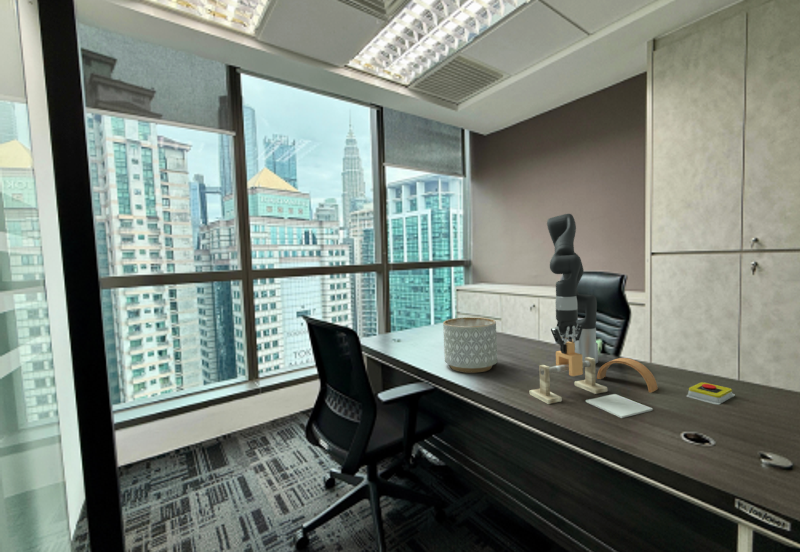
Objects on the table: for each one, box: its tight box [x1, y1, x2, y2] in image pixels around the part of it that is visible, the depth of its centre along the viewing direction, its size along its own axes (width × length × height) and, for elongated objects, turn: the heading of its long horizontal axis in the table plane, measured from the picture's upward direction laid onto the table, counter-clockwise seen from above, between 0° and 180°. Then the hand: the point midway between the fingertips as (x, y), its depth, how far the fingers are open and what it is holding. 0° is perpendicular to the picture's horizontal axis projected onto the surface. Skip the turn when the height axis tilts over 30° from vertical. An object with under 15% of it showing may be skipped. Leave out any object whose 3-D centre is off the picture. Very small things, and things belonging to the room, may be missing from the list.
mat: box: [585, 393, 654, 419], centre depth 121 cm, size 14×14×1 cm
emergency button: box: [686, 381, 736, 405], centre depth 126 cm, size 9×4×15 cm
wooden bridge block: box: [555, 340, 584, 377], centre depth 133 cm, size 5×8×12 cm, turn 19°
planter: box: [442, 316, 498, 374], centre depth 172 cm, size 26×26×22 cm
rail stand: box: [529, 357, 608, 405], centre depth 134 cm, size 28×10×12 cm, turn 109°
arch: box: [596, 357, 659, 394], centre depth 140 cm, size 6×20×10 cm, turn 33°
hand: (567, 352), depth 133 cm, fingers closed on wooden bridge block, 3 cm apart
